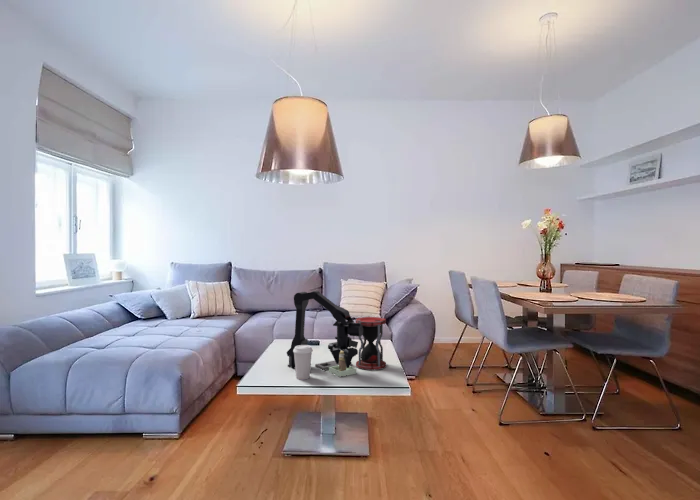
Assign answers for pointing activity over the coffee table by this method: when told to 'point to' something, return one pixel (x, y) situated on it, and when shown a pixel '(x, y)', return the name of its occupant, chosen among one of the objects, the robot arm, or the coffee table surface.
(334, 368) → the parts tray
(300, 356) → the coffee cup
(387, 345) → the coffee table surface
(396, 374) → the coffee table surface
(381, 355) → the hourglass
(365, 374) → the coffee table surface
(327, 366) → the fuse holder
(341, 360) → the fuse
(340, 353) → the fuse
